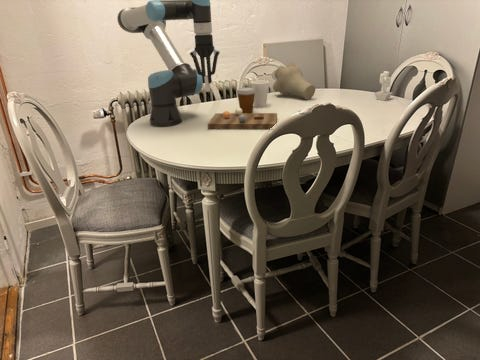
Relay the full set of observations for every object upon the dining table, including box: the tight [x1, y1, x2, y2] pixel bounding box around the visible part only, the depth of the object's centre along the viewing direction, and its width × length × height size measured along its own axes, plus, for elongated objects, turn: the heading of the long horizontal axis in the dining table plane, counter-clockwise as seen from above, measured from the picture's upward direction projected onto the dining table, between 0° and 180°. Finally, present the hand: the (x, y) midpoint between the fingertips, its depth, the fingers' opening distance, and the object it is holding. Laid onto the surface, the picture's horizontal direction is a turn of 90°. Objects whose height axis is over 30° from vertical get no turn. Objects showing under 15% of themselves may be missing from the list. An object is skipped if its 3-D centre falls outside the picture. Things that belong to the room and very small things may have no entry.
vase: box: [272, 62, 316, 101], centre depth 204 cm, size 22×22×28 cm
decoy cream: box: [234, 107, 242, 115], centre depth 167 cm, size 3×3×3 cm
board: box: [207, 112, 278, 130], centre depth 163 cm, size 30×18×2 cm, turn 83°
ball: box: [222, 110, 231, 118], centre depth 162 cm, size 3×3×3 cm
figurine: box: [373, 70, 394, 101], centre depth 192 cm, size 7×9×15 cm
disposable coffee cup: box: [236, 86, 255, 113], centre depth 179 cm, size 10×10×12 cm
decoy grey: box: [238, 114, 246, 122], centre depth 156 cm, size 3×3×3 cm
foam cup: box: [250, 79, 270, 109], centre depth 189 cm, size 10×9×13 cm
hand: (207, 90), depth 159 cm, fingers closed
